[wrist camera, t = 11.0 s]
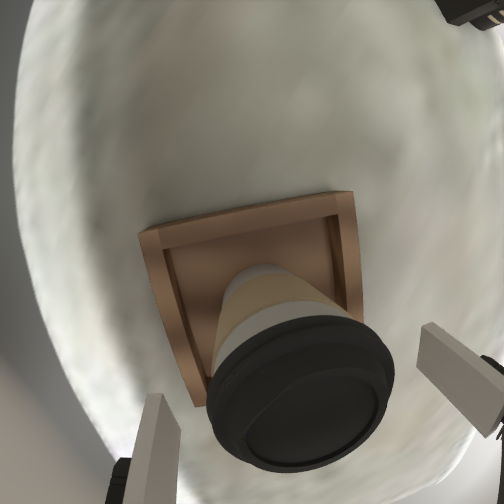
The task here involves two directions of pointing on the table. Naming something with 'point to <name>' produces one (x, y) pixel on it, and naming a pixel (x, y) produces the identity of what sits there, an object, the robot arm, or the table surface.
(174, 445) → the robot arm
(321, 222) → the tray
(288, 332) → the coffee cup
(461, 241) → the table surface
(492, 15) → the light fixture
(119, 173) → the table surface
